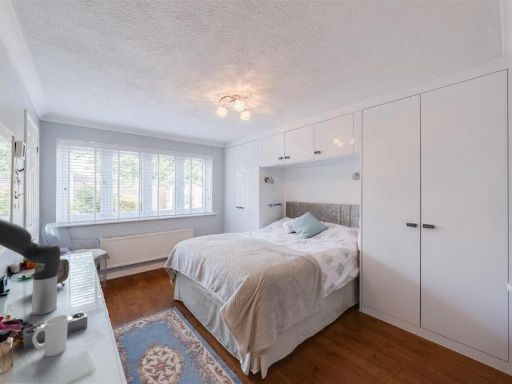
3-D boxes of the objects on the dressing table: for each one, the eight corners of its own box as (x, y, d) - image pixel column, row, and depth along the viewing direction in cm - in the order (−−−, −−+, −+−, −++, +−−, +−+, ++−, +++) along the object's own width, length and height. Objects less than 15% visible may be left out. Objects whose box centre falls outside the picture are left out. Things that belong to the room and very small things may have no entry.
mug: (67, 342, 94) (67, 313, 94) (67, 351, 89) (68, 320, 89) (32, 353, 87) (33, 321, 87) (30, 363, 82) (31, 330, 82)
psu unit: (22, 341, 94) (23, 328, 94) (82, 321, 109) (83, 310, 109) (24, 349, 89) (25, 336, 89) (87, 327, 105) (87, 315, 105)
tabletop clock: (43, 295, 134) (45, 251, 134) (31, 293, 136) (32, 250, 136) (68, 285, 148) (69, 246, 148) (57, 283, 150) (58, 245, 150)
